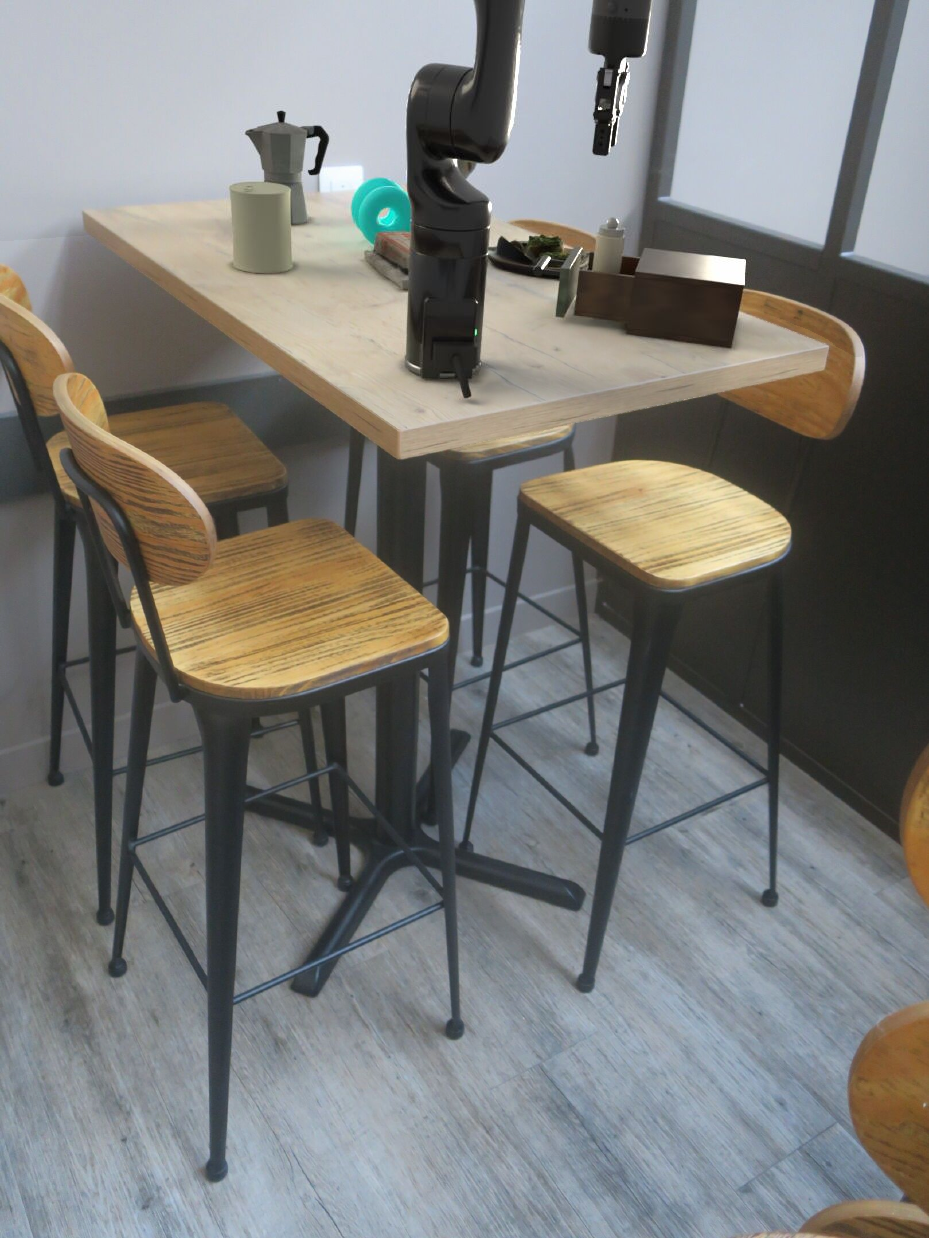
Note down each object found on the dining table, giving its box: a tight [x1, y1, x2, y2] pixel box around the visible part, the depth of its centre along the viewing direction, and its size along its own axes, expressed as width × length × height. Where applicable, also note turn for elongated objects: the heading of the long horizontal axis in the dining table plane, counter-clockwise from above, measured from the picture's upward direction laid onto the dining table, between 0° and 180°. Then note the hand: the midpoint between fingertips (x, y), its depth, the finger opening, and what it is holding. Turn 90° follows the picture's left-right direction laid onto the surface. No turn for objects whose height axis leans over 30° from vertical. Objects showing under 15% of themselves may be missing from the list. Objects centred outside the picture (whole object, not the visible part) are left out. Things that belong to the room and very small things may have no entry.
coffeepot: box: [244, 110, 330, 226], centre depth 187 cm, size 15×9×18 cm, turn 118°
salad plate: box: [488, 233, 590, 279], centre depth 175 cm, size 19×18×5 cm
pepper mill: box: [592, 217, 626, 274], centre depth 148 cm, size 4×4×12 cm
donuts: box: [350, 177, 411, 246], centre depth 178 cm, size 10×10×10 cm
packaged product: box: [363, 231, 410, 290], centre depth 164 cm, size 18×5×10 cm
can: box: [228, 181, 294, 274], centre depth 160 cm, size 9×9×12 cm
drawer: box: [533, 246, 641, 324], centre depth 151 cm, size 18×13×7 cm
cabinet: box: [625, 247, 746, 349], centre depth 149 cm, size 15×15×9 cm
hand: (603, 150), depth 142 cm, fingers open, 8 cm apart
